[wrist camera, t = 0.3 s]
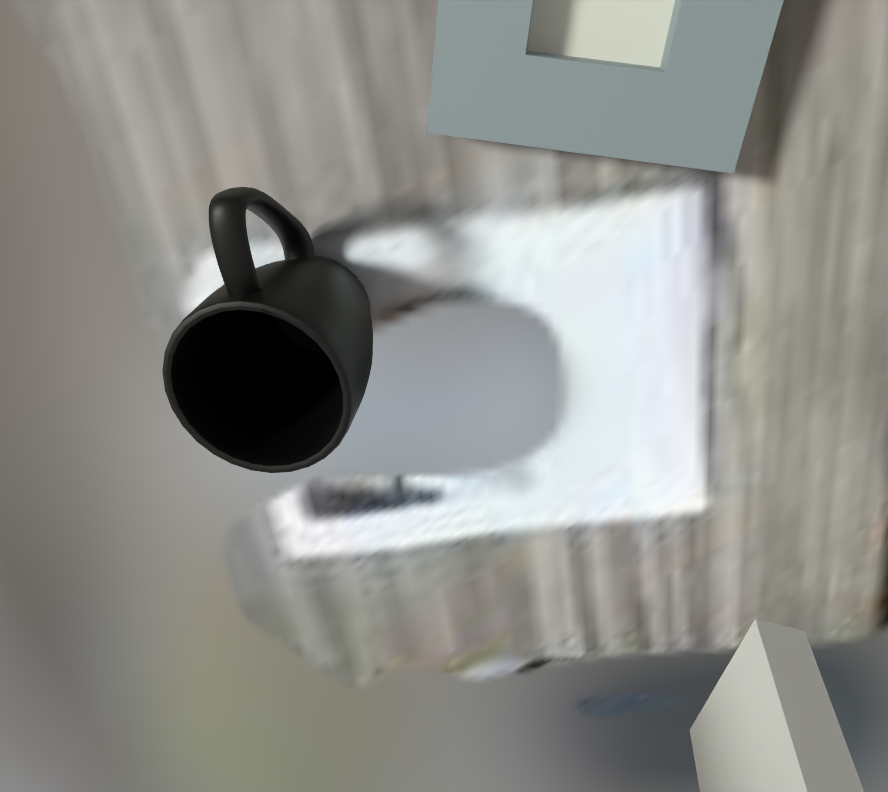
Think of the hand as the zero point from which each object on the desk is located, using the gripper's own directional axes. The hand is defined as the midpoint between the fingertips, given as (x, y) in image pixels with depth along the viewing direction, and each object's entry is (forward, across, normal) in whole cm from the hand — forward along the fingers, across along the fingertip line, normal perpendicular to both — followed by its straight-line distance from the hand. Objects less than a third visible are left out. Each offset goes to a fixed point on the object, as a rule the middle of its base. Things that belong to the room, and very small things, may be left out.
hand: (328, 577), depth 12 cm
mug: (+27, -7, -7) cm, 29 cm away
